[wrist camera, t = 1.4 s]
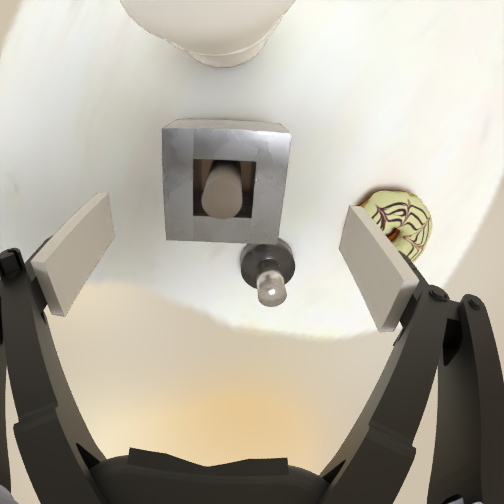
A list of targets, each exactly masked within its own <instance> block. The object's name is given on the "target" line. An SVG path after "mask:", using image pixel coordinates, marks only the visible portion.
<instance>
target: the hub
mask: <svg viewBox="0 0 504 504" xmlns="http://www.w3.org/2000/svg"><path fill="white" fill-rule="evenodd" d="M294 271H295V262H294V259H293V255H292V252H291V249H290V247H289V246H288V245H287V244H286V243H285V242H284V241H282V240H280V239H278V242H277V245H274V244H251V243H249V244H248V245H247V246H246V247H245V248H244V250H243V252H242V254H241V274H242V277H243V279H244V280H245V282H246V283H247V284H249V285H250V286H252V287H253V288H256V289H257V290H258V299H259V301H260V303H261V304H263V305H265V306H268V307H274V306H278V305H280V304H282V303H283V302H284V301H285V299H286V296H287V294H286V289H285V284H286V283H287V282H288V281H289V280H290V279H291V278H292V276H293V274H294Z"/></svg>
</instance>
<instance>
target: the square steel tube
mask: <svg viewBox="0 0 504 504" xmlns="http://www.w3.org/2000/svg"><path fill="white" fill-rule="evenodd" d="M291 136H292V134H291V133H290V132H289V131H288V130H287V129H286V128H285V127H284V126H282V125H281V124H279V123H268V122H255V121H240V120H217V119H177V120H175V121H174V122H172V123H170V124H169V125H167V126H165V127H164V128H162V166H163V194H164V212H165V227H166V240H178V241H204V242H228V243H251V244H274V245H277V242H278V235H279V227H280V220H281V213H282V206H283V198H284V191H285V183H286V176H287V168H288V160H289V152H290V144H291ZM202 159H213V160H237V161H251V172H250V184H249V192H242V206H241V209H240V210H239V212H238V213H237V214H236V215H235V216H233V217H231V218H228V219H216V218H213V217H211V216H210V215H208V214H207V213H206V212H205V210H204V208H203V206H202V195H203V192H204V190H201V161H202Z"/></svg>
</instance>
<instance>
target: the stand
mask: <svg viewBox="0 0 504 504" xmlns="http://www.w3.org/2000/svg"><path fill="white" fill-rule="evenodd" d="M250 172H251V161H237V160H213V159H202V161H201V190H204V192H203V195H202V206H203V208H204V210H205V212H206V213H207V214H208V215H210V216H211V217H213V218H216V219H228V218H231V217H233V216H235V215H236V214H237V213H238V212H239V210H240V209H241V206H242V192H249V184H250Z"/></svg>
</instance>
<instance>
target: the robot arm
mask: <svg viewBox="0 0 504 504" xmlns="http://www.w3.org/2000/svg"><path fill="white" fill-rule="evenodd" d="M113 239H114V231H113V225H112V218H111V211H110V204H109V196H108V193H96V194H95V195H94V196H93V197H92V198H91V199H90V200H89V201H88V202H87V203H86V204H84V205H83V206H82V207H81V208H80V209H79V210H78V211H77V212H76V213H75V214H74V215H73V216H72V217H71V218H70V219H69V220H68V221H67V222H66V223H65V224H64V225H63V226H62V227H61V228H60V229H59V230H58V231H57V232H56V233H55V234H54V235H53V236H51V237H49V238H48V239H46V240H45V241H44V242H43V244H42V245H41V247H39V248H38V249H37V250H36V252H34V254H33V255H32V256H31V257H30V258H29V259H28V260H27V262H26V263H25V264H24V261H23V258H22V255H21V252H20V250H19V249H17V248H11V249H7V250H5V251H3V252H2V253H0V278H1V279H0V504H18V503H17V502H16V501H15V500H14V499H13V497H12V495H11V479H10V467H9V458H8V450H7V438H6V421H5V386H6V385H5V384H6V367H8V374H9V379H10V384H11V389H12V394H13V398H14V402H15V407H16V410H17V414H18V419H19V422H18V423H16V424H14V427H13V429H14V435H15V438H16V442H17V445H18V448H19V451H20V454H21V457H22V460H23V462H24V465H25V468H26V471H27V473H28V475H29V478H30V481H31V483H32V485H33V488H34V490H35V492H36V494H37V496H38V499H39V501H40V503H41V504H393V502H394V500H395V498H396V496H397V495H398V493H399V491H400V488H401V487H402V484H403V482H404V480H405V478H406V476H407V474H408V472H409V469H410V467H411V465H412V463H413V460H414V457H415V454H416V448H415V447H413V446H412V443H413V440H414V437H415V435H416V432H417V429H418V427H419V424H420V421H421V419H422V416H423V413H424V410H425V407H426V404H427V401H428V397H429V394H430V391H431V388H432V384H433V381H434V377H435V373H436V369H437V365H438V409H437V426H436V440H435V448H434V457H433V464H432V471H431V477H430V483H429V490H428V496H427V504H504V382H503V375H502V370H501V365H500V360H499V355H498V351H497V347H496V342H495V338H494V334H493V331H492V327H491V324H490V320H489V317H488V313H487V310H486V307H485V305H484V303H483V302H482V301H481V300H480V299H479V298H478V297H477V296H474V295H470V294H466V295H464V296H463V298H462V300H461V302H455V301H451V300H450V299H449V296H448V294H447V293H446V292H445V291H444V290H443V289H441V288H439V287H437V286H434V285H429V284H428V283H427V282H426V280H425V279H424V277H423V276H422V275H421V273H420V272H419V271H418V270H417V268H416V267H415V265H413V263H412V261H411V260H410V259H409V257H408V256H406V255H405V254H404V253H402V252H401V251H397V249H396V248H395V247H394V245H393V244H392V243H391V242H390V240H389V239H388V238H387V236H386V235H385V234H384V233H383V231H382V230H381V229H380V228H379V227H378V225H377V224H376V223H375V222H374V220H373V219H372V218H371V217H370V216H369V214H368V213H367V212H366V211H365V210H364V209H363V207H361V206H352V205H349V209H348V213H347V217H346V222H345V226H344V230H343V234H342V238H341V242H340V245H339V250H340V252H341V254H342V256H343V258H344V259H345V261H346V263H347V265H348V267H349V269H350V271H351V273H352V275H353V277H354V279H355V282H356V284H357V286H358V288H359V290H360V292H361V294H362V296H363V298H364V300H365V302H366V305H367V307H368V309H369V311H370V313H371V315H372V318H373V320H374V322H375V324H376V327H377V329H378V331H379V332H392V331H394V330H395V328H396V327H397V325H398V323H399V321H400V323H401V325H402V327H403V328H402V330H401V332H400V334H399V335H398V337H397V339H396V341H395V342H394V344H393V346H394V348H393V350H392V353H391V355H390V357H389V359H388V361H387V364H386V366H385V368H384V370H383V372H382V374H381V376H380V379H379V380H378V382H377V384H376V386H375V388H374V390H373V392H372V394H371V396H370V398H369V400H368V402H367V404H366V405H365V407H364V409H363V411H362V413H361V414H360V416H359V418H358V419H357V421H356V423H355V425H354V426H353V428H352V430H351V431H350V433H349V435H348V436H347V438H346V439H345V441H344V443H343V444H342V446H341V447H340V449H339V450H338V452H337V453H336V455H335V456H334V458H333V459H332V460H331V461H330V463H329V464H328V465H327V466H326V467H325V469H324V470H323V471H322V472H321V474H320V475H319V476H318V475H316V474H314V473H312V472H310V471H308V470H305V469H302V468H299V467H295V466H290V465H288V460H287V458H273V459H272V458H271V459H246V460H242V461H237V462H232V463H227V464H222V465H216V466H210V467H206V466H201V465H198V464H195V463H192V462H189V461H186V460H183V459H180V458H177V457H174V456H172V455H169V454H166V453H159V452H152V451H146V450H141V449H135V448H130V449H129V455H125V456H118V457H114V458H110V459H106V458H105V456H104V455H103V453H102V452H101V451H100V450H99V448H98V447H97V445H96V444H95V442H94V440H93V439H92V436H91V434H90V433H89V431H88V429H87V426H86V424H85V422H84V420H83V418H82V416H81V414H80V412H79V409H78V407H77V405H76V403H75V400H74V398H73V395H72V393H71V391H70V388H69V386H68V383H67V380H66V378H65V375H64V372H63V370H62V367H61V364H60V361H59V358H58V355H57V352H56V349H55V346H54V342H53V339H52V336H51V333H50V329H49V325H48V321H47V317H46V315H45V313H44V311H43V310H44V308H45V307H46V305H48V307H49V309H50V312H51V314H52V315H58V316H63V317H65V316H66V315H67V313H68V311H69V309H70V307H71V305H72V304H73V302H74V300H75V299H76V297H77V295H78V293H79V292H80V290H81V288H82V287H83V285H84V283H85V282H86V280H87V279H88V277H89V275H90V274H91V272H92V271H93V269H94V267H95V266H96V264H97V263H98V261H99V260H100V258H101V257H102V255H103V254H104V252H105V251H106V249H107V248H108V246H109V245H110V243H111V242H112V240H113Z"/></svg>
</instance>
